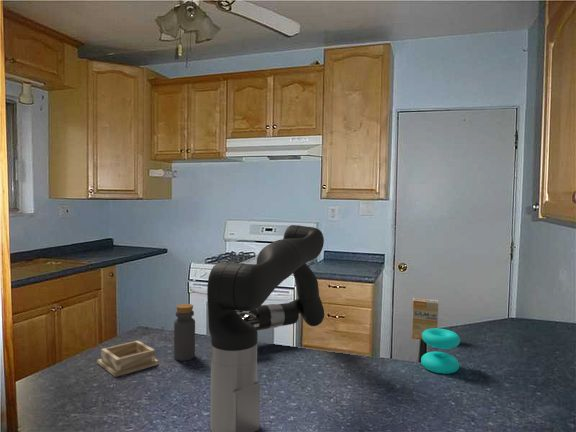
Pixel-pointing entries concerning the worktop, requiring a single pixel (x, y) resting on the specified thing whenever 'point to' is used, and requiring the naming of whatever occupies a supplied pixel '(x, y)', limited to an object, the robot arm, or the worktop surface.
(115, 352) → the bottle holder
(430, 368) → the donuts
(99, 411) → the worktop surface
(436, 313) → the supplement box
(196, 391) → the worktop surface
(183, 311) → the bottle
